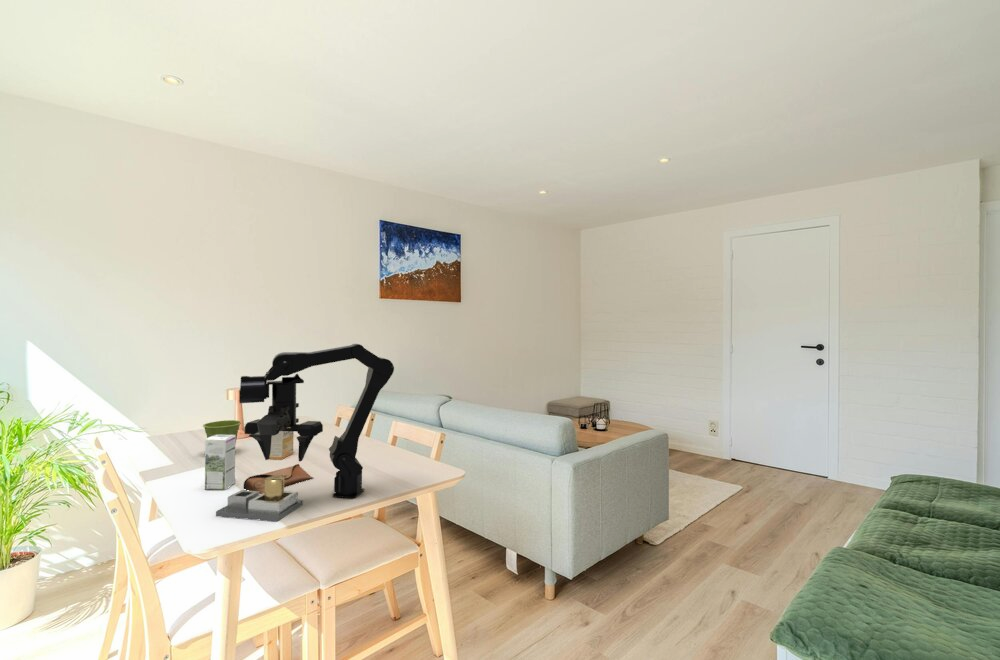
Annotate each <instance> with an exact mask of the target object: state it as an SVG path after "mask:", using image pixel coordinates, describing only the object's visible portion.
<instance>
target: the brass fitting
mask: <svg viewBox="0 0 1000 660" xmlns="http://www.w3.org/2000/svg"><path fill="white" fill-rule="evenodd" d="M284 491H285V487H284V477H283V476H271V477H267V478H266V479H265V494H264V501H274V502H278V501H280V500H281V499H283V498H284Z"/></svg>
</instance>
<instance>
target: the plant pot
mask: <svg viewBox="0 0 1000 660" xmlns="http://www.w3.org/2000/svg"><path fill="white" fill-rule="evenodd" d="M241 424H242V421H241V420H236V419H230V420H229V419H228V420H216V421H210V422H206V423H204V424H203V425H202V427H203V428H204V432H205V434H206V439H207V438H209V437H211V436H213V435H235V436H236V440H237V439H238V432H239V430H240V425H241ZM236 444H237V443H236ZM236 444H235V446H236Z"/></svg>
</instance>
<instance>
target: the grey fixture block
mask: <svg viewBox="0 0 1000 660" xmlns="http://www.w3.org/2000/svg"><path fill="white" fill-rule="evenodd" d="M264 494H265V493H263V494H259V491H247V490H244V489H241V490H239V491H237V492H235V493H233V494H230V495H228V496H227V504H226V506H224V507H222V508H219V509H218V510H216V511H215V517H217V516H222V517H221V518H229V517H235V518H234V519H240V518H248V519H247V520H252V519H260V520H259V521H263V520H267V522H275V521H276V522H279V521H280V520H282V519H283V518H285V517H286V516H288V515H289V514H291V513H292V512H293V511H295V510H297V509H298V508H300V507H301V506H303V504H304V499H299V492H298V491H290V490H289V491H288V490H286V491H285V490H284V498H283V499H281V500H280V501H278V502H274V501H264Z"/></svg>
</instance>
